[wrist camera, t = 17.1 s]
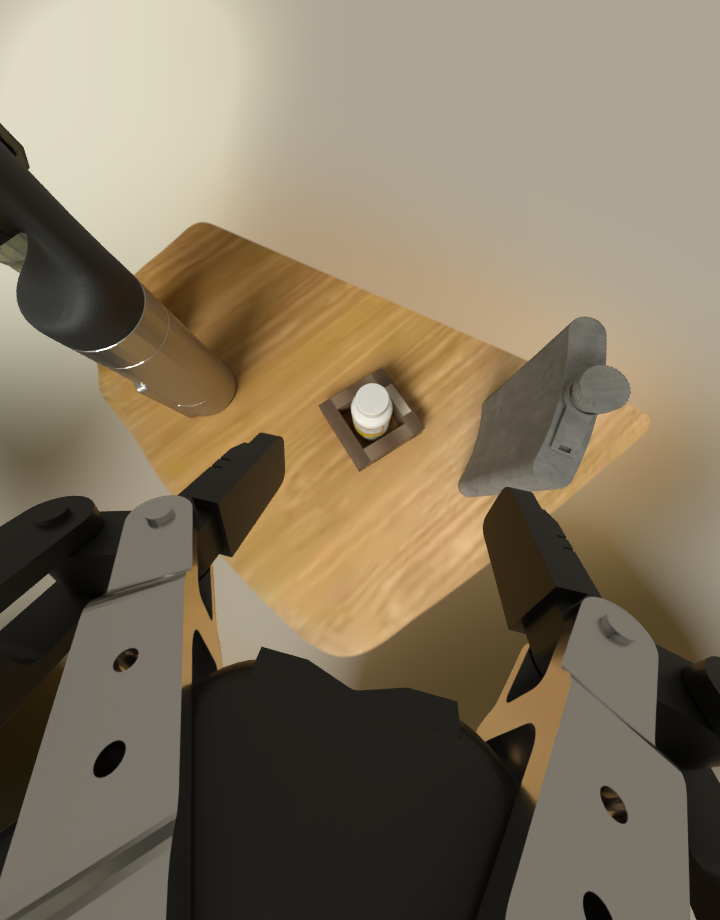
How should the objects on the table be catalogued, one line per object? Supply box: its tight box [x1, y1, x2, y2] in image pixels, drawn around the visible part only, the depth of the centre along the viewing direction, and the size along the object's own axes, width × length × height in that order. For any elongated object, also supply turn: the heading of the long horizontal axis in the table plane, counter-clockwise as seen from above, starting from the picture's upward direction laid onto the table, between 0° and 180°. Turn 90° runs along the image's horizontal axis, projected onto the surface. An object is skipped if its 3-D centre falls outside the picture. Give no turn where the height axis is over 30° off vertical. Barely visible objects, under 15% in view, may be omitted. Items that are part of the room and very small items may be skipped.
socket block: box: [319, 367, 425, 472], centre depth 38 cm, size 11×11×3 cm
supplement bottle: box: [351, 383, 393, 441], centre depth 35 cm, size 5×5×10 cm
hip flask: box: [458, 317, 631, 497], centre depth 29 cm, size 16×4×20 cm, turn 160°
